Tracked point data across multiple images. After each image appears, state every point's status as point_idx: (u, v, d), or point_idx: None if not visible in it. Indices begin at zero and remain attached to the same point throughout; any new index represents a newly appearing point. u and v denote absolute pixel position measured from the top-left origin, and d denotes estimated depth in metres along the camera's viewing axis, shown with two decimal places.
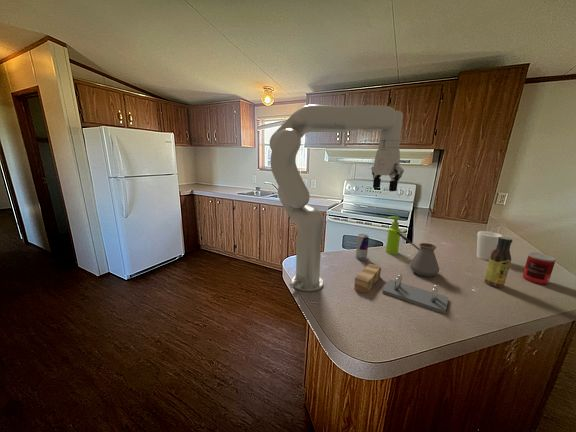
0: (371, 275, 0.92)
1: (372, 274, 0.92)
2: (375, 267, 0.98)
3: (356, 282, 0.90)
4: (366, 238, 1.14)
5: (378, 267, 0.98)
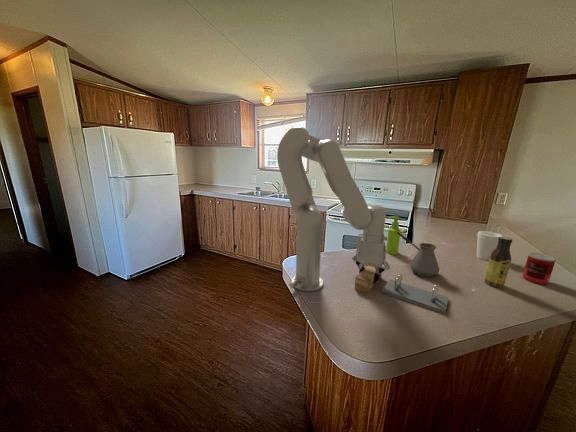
0: (372, 274, 0.91)
1: (373, 273, 0.92)
2: None
3: (356, 281, 0.90)
4: None
5: None
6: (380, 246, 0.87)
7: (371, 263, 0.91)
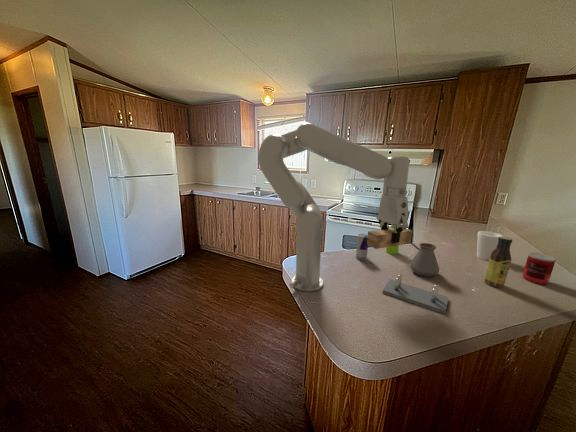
0: (389, 233, 0.84)
1: (391, 232, 0.84)
2: (404, 230, 0.88)
3: (368, 236, 0.86)
4: (366, 238, 1.14)
5: (408, 230, 0.87)
6: (397, 200, 0.79)
7: (389, 220, 0.84)
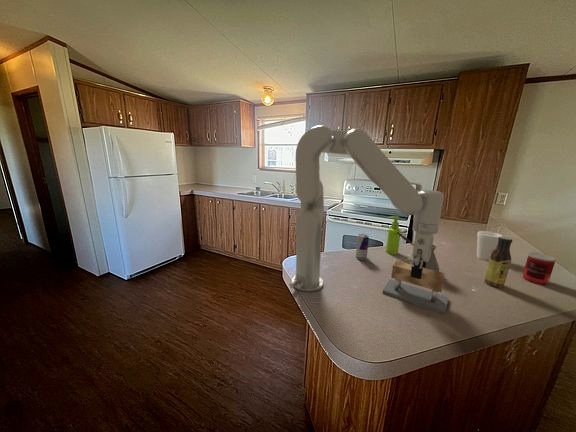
0: (410, 269, 0.83)
1: None
2: (437, 274, 0.79)
3: None
4: (366, 238, 1.14)
5: (439, 276, 0.78)
6: (415, 234, 0.78)
7: None
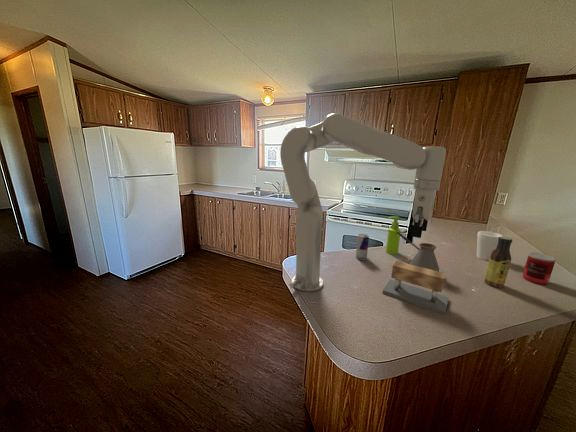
0: (410, 269, 0.83)
1: (414, 270, 0.83)
2: (437, 274, 0.79)
3: None
4: (366, 238, 1.14)
5: (439, 276, 0.78)
6: (416, 192, 0.77)
7: None
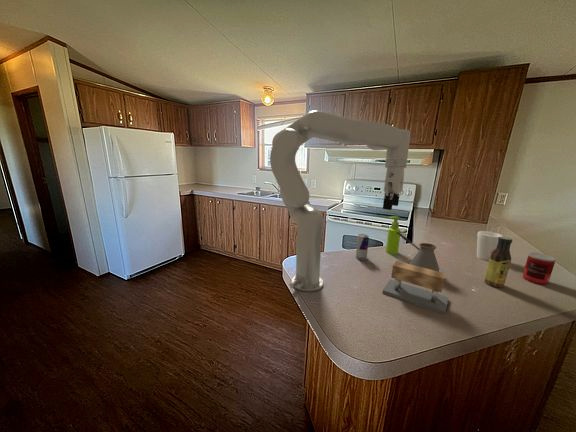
0: (410, 269, 0.83)
1: (414, 270, 0.83)
2: (437, 274, 0.79)
3: None
4: (366, 238, 1.14)
5: (439, 276, 0.78)
6: (387, 170, 0.88)
7: None
